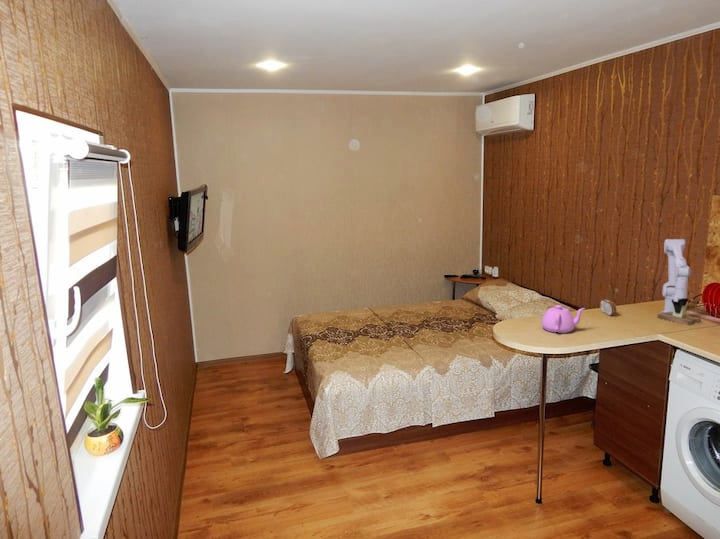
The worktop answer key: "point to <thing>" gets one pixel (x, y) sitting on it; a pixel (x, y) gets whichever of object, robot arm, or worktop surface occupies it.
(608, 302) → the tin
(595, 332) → the worktop surface
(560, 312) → the teapot
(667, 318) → the walnut slab
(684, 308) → the sage block
